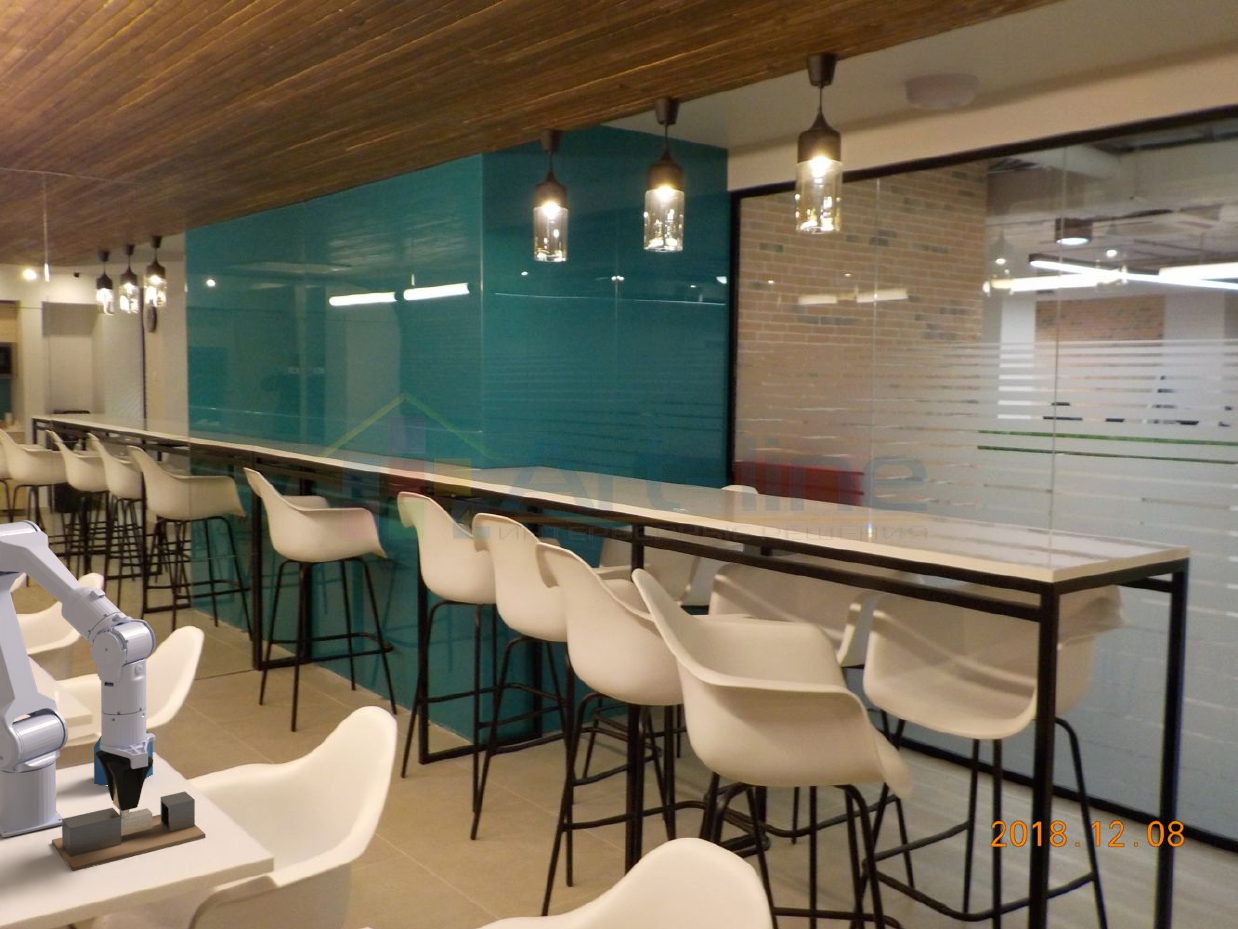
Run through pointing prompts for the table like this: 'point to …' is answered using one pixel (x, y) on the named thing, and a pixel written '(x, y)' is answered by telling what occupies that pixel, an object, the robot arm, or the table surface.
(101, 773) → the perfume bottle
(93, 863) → the walnut board
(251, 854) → the table surface
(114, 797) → the pale bar
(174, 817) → the sleeve and socket
